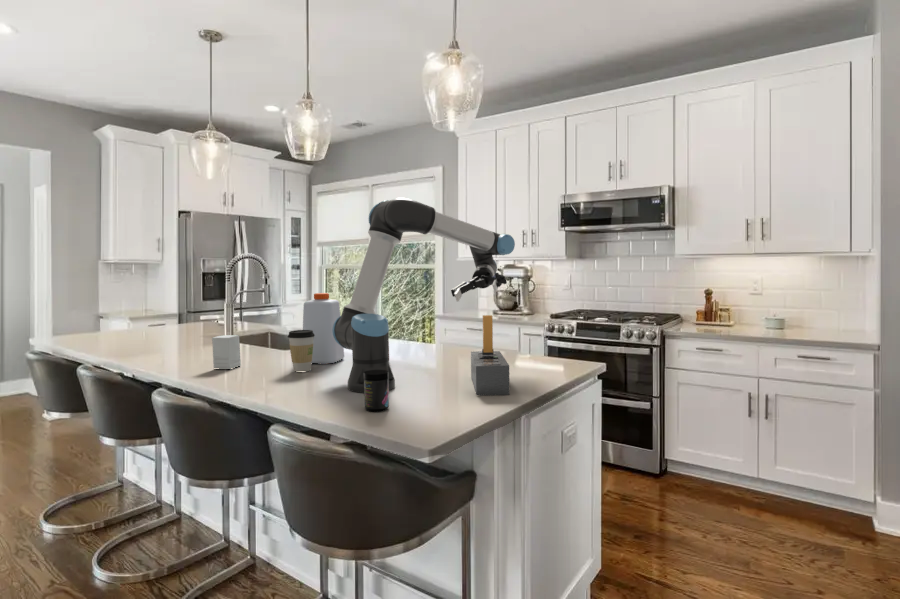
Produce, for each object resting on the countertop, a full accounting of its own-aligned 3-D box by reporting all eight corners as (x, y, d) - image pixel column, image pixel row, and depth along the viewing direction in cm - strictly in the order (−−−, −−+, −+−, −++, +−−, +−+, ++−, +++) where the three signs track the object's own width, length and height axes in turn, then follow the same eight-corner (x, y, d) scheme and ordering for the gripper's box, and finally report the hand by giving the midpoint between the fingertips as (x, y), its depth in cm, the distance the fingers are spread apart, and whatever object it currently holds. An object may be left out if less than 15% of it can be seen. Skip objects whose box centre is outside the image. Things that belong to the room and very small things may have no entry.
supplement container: (381, 413, 145) (380, 375, 144) (359, 411, 148) (358, 373, 147) (393, 407, 151) (392, 370, 151) (372, 405, 154) (371, 368, 153)
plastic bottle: (347, 358, 230) (345, 292, 228) (333, 365, 215) (331, 294, 213) (313, 357, 232) (311, 292, 230) (297, 364, 218) (295, 294, 216)
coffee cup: (321, 369, 206) (320, 330, 205) (301, 374, 197) (300, 333, 196) (303, 367, 211) (302, 329, 210) (283, 371, 203) (281, 332, 202)
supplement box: (241, 366, 214) (240, 335, 213) (229, 370, 207) (228, 337, 206) (225, 366, 215) (223, 334, 215) (212, 369, 208) (211, 337, 207)
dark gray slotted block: (468, 369, 203) (468, 344, 203) (495, 368, 203) (495, 343, 203) (476, 395, 163) (476, 364, 163) (509, 394, 164) (509, 364, 163)
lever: (482, 354, 180) (481, 315, 179) (492, 354, 180) (492, 315, 179) (482, 355, 178) (482, 316, 177) (493, 355, 178) (493, 315, 177)
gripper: (517, 277, 203) (513, 294, 183) (455, 293, 209) (444, 311, 190) (512, 258, 201) (507, 274, 181) (449, 275, 208) (438, 291, 188)
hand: (475, 293), depth 185 cm, fingers open, 13 cm apart
